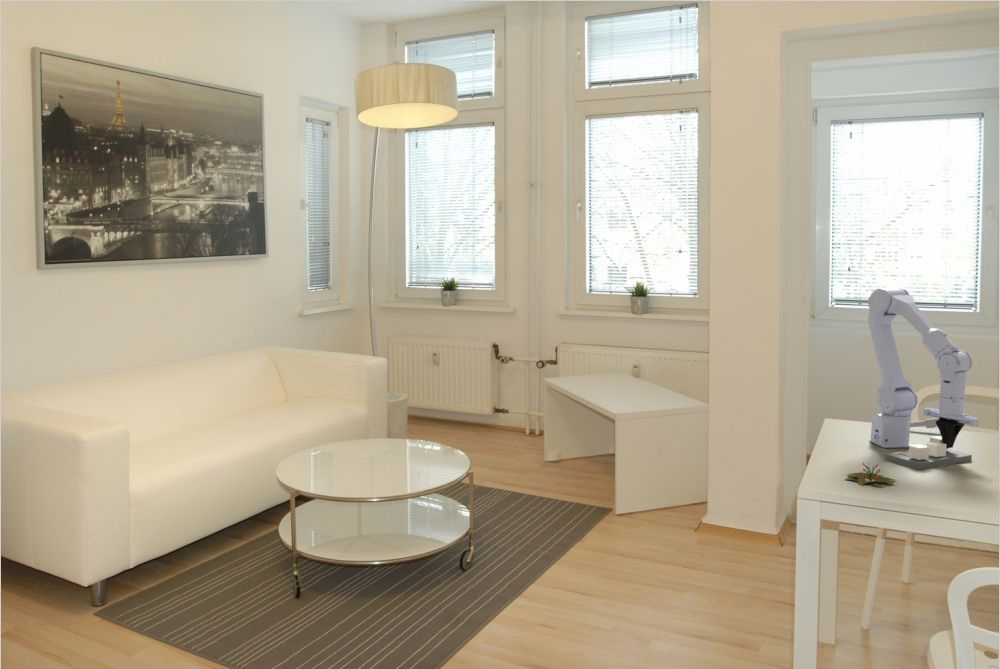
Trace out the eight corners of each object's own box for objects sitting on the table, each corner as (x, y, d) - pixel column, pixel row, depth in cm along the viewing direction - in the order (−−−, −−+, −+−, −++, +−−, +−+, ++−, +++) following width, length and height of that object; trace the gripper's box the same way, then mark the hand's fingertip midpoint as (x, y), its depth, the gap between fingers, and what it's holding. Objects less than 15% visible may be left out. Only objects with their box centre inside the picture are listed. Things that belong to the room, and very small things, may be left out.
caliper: (950, 434, 249) (952, 413, 248) (951, 435, 248) (953, 414, 247) (876, 428, 255) (877, 408, 254) (876, 429, 254) (878, 409, 253)
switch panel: (918, 469, 210) (919, 463, 210) (885, 459, 219) (885, 453, 219) (971, 460, 219) (971, 454, 219) (937, 451, 228) (937, 445, 228)
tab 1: (939, 450, 221) (940, 439, 221) (929, 447, 224) (930, 437, 224) (948, 449, 223) (949, 438, 223) (938, 446, 226) (939, 435, 225)
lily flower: (905, 482, 201) (907, 464, 200) (884, 493, 193) (886, 474, 192) (856, 471, 209) (857, 454, 209) (834, 481, 201) (835, 463, 201)
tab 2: (936, 457, 215) (937, 445, 215) (925, 454, 218) (926, 443, 217) (945, 455, 217) (946, 444, 216) (935, 452, 219) (936, 441, 219)
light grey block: (918, 459, 212) (919, 448, 212) (908, 456, 215) (909, 445, 215) (928, 458, 214) (929, 446, 213) (918, 455, 216) (919, 444, 216)
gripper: (988, 400, 214) (984, 452, 216) (937, 390, 227) (933, 439, 229) (970, 403, 211) (965, 455, 213) (919, 392, 224) (916, 442, 226)
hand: (948, 447), depth 221 cm, fingers closed
